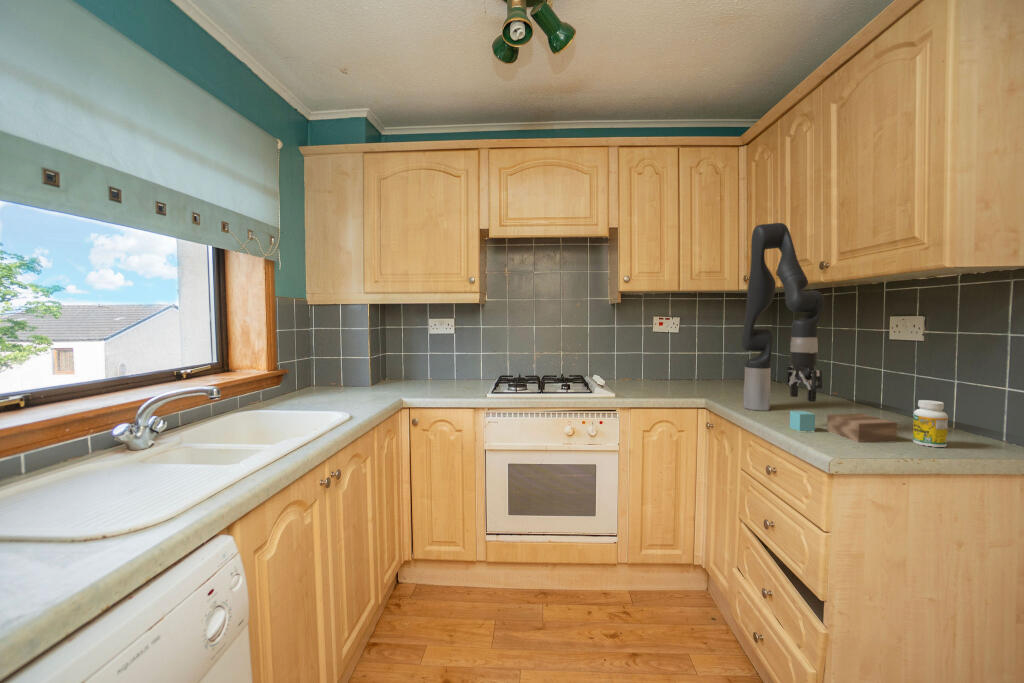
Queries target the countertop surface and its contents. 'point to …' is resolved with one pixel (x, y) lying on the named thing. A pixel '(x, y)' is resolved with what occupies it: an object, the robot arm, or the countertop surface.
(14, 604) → the countertop surface
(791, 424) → the teal block
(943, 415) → the supplement bottle
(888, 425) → the walnut box
